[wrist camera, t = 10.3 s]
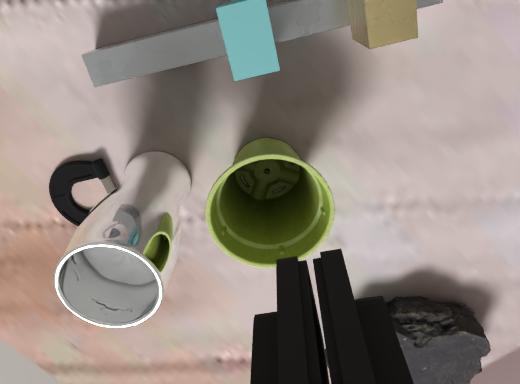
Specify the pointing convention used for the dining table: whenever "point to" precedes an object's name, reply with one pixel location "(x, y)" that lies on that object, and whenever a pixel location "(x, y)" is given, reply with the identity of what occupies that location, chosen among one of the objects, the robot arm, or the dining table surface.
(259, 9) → the sliding leg
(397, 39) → the fixed leg
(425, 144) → the dining table surface
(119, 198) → the beer glass
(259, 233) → the plant pot
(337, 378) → the robot arm
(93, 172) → the black c clamp
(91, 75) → the rail
